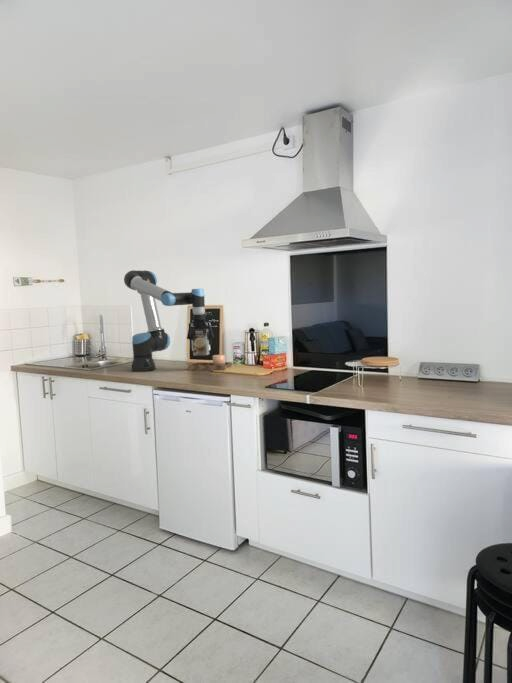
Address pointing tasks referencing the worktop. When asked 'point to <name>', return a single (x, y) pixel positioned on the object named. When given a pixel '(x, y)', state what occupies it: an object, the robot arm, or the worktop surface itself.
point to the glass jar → (200, 342)
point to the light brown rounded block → (218, 360)
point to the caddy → (209, 366)
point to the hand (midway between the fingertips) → (201, 350)
